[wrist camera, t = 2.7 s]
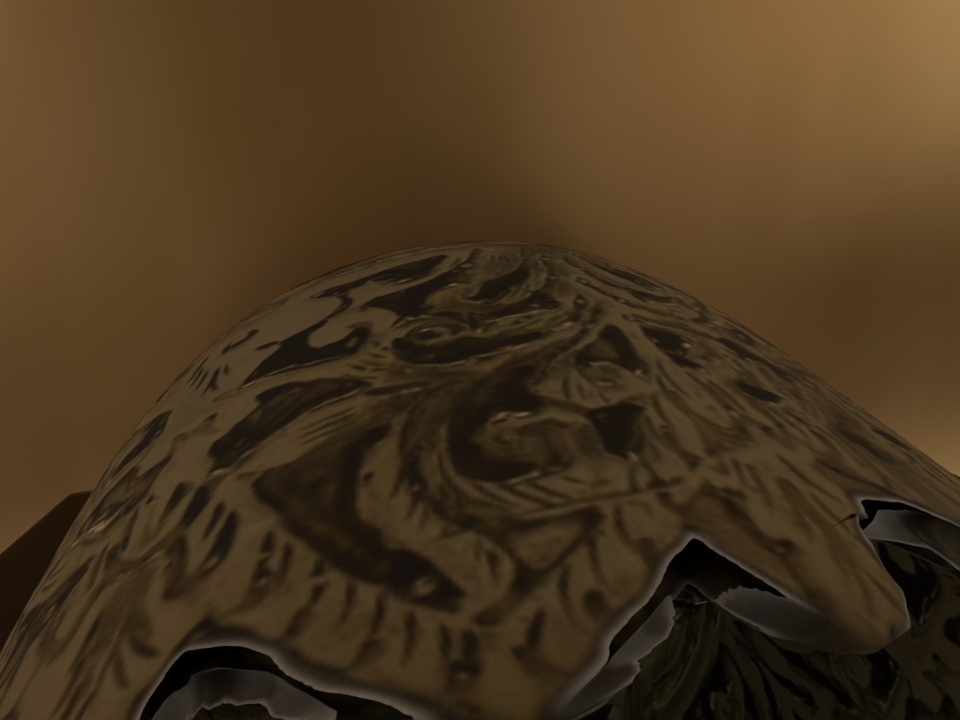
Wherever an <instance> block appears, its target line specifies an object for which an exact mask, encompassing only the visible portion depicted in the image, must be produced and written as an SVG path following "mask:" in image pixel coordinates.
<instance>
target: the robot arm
mask: <svg viewBox="0 0 960 720" xmlns="http://www.w3.org/2000/svg"><path fill="white" fill-rule="evenodd" d="M951 474H952V473H951ZM953 475H954V474H953ZM954 476H955V477H957V478H958V479H959V480H960V477H958V476H956V475H954ZM92 492H93V491H86V492H78V493H73V494H70V495H69V496H68V497H66V498H65V499H64V500H62V501H61V502H60V503H59V504H58V505H57V506H56V507H54V508H53V509H52V510H51V511H50V512H49V513H47V514H46V515H45V516H44V517H43V518H42V519H41V520H39V521H38V522H37V523H36V524H35V525H34V526H32V527H31V528H30V529H29V530H28V531H27V532H26V533H24V534H23V535H22V536H21V537H20V538H19V539H17V540H16V541H15V542H14V543H13V544H12V545H11V546H9V547H8V548H7V549H6V550H5V551H4V552H2V553H1V554H0V652H1V650H2V648H3V647H4V645H5V643H6V641H7V639H8V637H9V636H10V634H11V632H12V630H13V628H14V627H15V625H16V623H17V621H18V619H19V618H20V616H21V614H22V612H23V610H24V609H25V607H26V605H27V603H28V601H29V600H30V598H31V596H32V594H33V593H34V591H35V589H36V587H37V585H38V584H39V582H40V580H41V578H42V577H43V575H44V573H45V571H46V569H47V568H48V566H49V564H50V562H51V561H52V559H53V557H54V555H55V554H56V552H57V550H58V548H59V546H60V545H61V543H62V541H63V539H64V538H65V536H66V534H67V532H68V531H69V529H70V528H71V526H72V524H73V523H74V521H75V519H76V518H77V516H78V515H79V513H80V511H81V510H82V508H83V506H84V505H85V503H86V501H87V500H88V498H89V497H90V495H91V493H92Z"/></svg>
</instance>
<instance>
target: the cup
mask: <svg viewBox="0 0 960 720" xmlns="http://www.w3.org/2000/svg"><path fill="white" fill-rule="evenodd" d="M0 720H960V480H959V479H958V478H957V477H955V476H954V475H953V474H951V473H950V472H949V471H947V470H946V469H944V468H943V467H942V466H940V465H939V464H938V463H936V462H935V461H934V460H932V459H931V458H929V457H928V456H927V455H925V454H924V453H923V452H921V451H920V450H919V449H917V448H916V447H914V446H913V445H912V444H910V443H909V442H908V441H906V440H905V439H904V438H902V437H901V436H899V435H898V434H897V433H895V432H894V431H893V430H891V429H890V428H888V427H887V426H886V425H884V424H883V423H882V422H880V421H879V420H877V419H876V418H875V417H873V416H872V415H871V414H869V413H868V412H866V411H865V410H864V409H862V408H861V407H860V406H858V405H857V404H855V403H854V402H853V401H851V400H850V399H848V398H847V397H846V396H844V395H843V394H841V393H840V392H839V391H837V390H836V389H834V388H833V387H832V386H830V385H829V384H827V383H826V382H825V381H823V380H822V379H820V378H819V377H818V376H816V375H815V374H814V373H812V372H811V371H809V370H808V369H806V368H805V367H804V366H802V365H801V364H799V363H798V362H796V361H795V360H794V359H792V358H791V357H789V356H788V355H787V354H785V353H784V352H782V351H781V350H779V349H778V348H777V347H775V346H774V345H772V344H771V343H769V342H768V341H766V340H765V339H763V338H762V337H760V336H759V335H757V334H756V333H754V332H753V331H751V330H750V329H748V328H746V327H745V326H743V325H742V324H740V323H739V322H737V321H736V320H734V319H733V318H731V317H729V316H727V315H725V314H724V313H722V312H720V311H718V310H717V309H715V308H713V307H711V306H709V305H708V304H706V303H704V302H702V301H700V300H699V299H697V298H695V297H693V296H691V295H689V294H687V293H685V292H683V291H681V290H679V289H677V288H675V287H674V286H672V285H670V284H668V283H666V282H664V281H662V280H659V279H657V278H654V277H651V276H649V275H646V274H643V273H641V272H638V271H635V270H632V269H630V268H627V267H624V266H622V265H619V264H616V263H614V262H611V261H608V260H605V259H603V258H600V257H597V256H593V255H589V254H585V253H581V252H577V251H573V250H569V249H564V248H560V247H555V246H547V245H539V244H530V243H522V242H504V241H467V242H456V243H446V244H435V245H426V246H421V247H416V248H411V249H406V250H401V251H396V252H391V253H386V254H382V255H378V256H375V257H372V258H369V259H366V260H362V261H359V262H356V263H353V264H350V265H346V266H343V267H340V268H338V269H335V270H333V271H331V272H328V273H326V274H324V275H321V276H319V277H317V278H314V279H312V280H310V281H308V282H305V283H303V284H301V285H298V286H297V287H295V288H293V289H291V290H290V291H288V292H286V293H284V294H282V295H281V296H279V297H277V298H275V299H274V300H272V301H270V302H268V303H266V304H265V305H263V306H261V307H260V308H258V309H257V310H255V311H254V312H253V313H251V314H250V315H249V316H247V317H246V318H244V319H243V320H242V321H240V322H239V323H237V324H236V325H235V326H233V327H232V328H230V329H229V330H228V331H226V332H225V333H224V334H223V335H222V336H221V337H220V338H219V339H217V340H216V341H215V342H214V343H213V344H212V345H211V346H210V347H209V348H208V349H206V350H205V351H204V352H203V353H202V354H201V355H200V356H199V357H198V358H197V359H196V360H195V361H194V362H193V363H192V364H191V365H190V366H189V367H188V368H187V369H186V370H185V371H184V372H183V373H182V374H181V375H180V376H179V377H178V378H177V379H176V380H175V381H174V382H173V383H172V384H171V385H170V386H169V388H168V389H167V390H166V391H165V392H164V393H163V395H162V396H161V397H160V398H159V399H158V400H157V402H156V403H155V404H154V405H153V406H152V407H151V409H150V410H149V411H148V412H147V413H146V414H145V416H144V417H143V418H142V420H141V421H140V423H139V424H138V425H137V427H136V428H135V430H134V431H133V432H132V434H131V435H130V436H129V438H128V439H127V441H126V442H125V443H124V445H123V446H122V447H121V449H120V450H119V452H118V453H117V455H116V456H115V458H114V459H113V461H112V463H111V464H110V466H109V467H108V469H107V470H106V472H105V473H104V475H103V476H102V478H101V479H100V481H99V482H98V484H97V485H96V487H95V488H94V490H93V492H92V493H91V495H90V497H89V498H88V500H87V501H86V503H85V505H84V506H83V508H82V510H81V511H80V513H79V515H78V516H77V518H76V519H75V521H74V523H73V524H72V526H71V528H70V529H69V531H68V532H67V534H66V536H65V538H64V539H63V541H62V543H61V545H60V546H59V548H58V550H57V552H56V554H55V555H54V557H53V559H52V561H51V562H50V564H49V566H48V568H47V569H46V571H45V573H44V575H43V577H42V578H41V580H40V582H39V584H38V585H37V587H36V589H35V591H34V593H33V594H32V596H31V598H30V600H29V601H28V603H27V605H26V607H25V609H24V610H23V612H22V614H21V616H20V618H19V619H18V621H17V623H16V625H15V627H14V628H13V630H12V632H11V634H10V636H9V637H8V639H7V641H6V643H5V645H4V647H3V648H2V650H1V652H0Z"/></svg>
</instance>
